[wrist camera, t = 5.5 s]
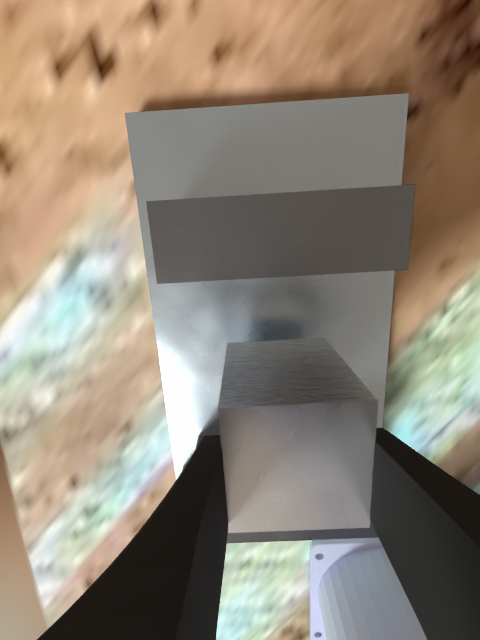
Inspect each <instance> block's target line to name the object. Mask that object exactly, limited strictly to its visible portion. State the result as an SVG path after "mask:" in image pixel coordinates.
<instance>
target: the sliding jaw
mask: <svg viewBox="0 0 480 640" xmlns="http://www.w3.org/2000/svg"><path fill="white" fill-rule="evenodd" d="M414 195H415V184H412V185H396V186H380V187H364V188H348V189H332V190H317V191H301V192H285V193H269V194H253V195H237V196H221V197H205V198H189V199H174V200H158V201H146V205H147V212H148V220H149V227H150V235H151V243H152V250H153V258H154V265H155V273H156V280H157V284H166V283H184V282H202V281H219V280H237V279H255V278H272V277H290V276H307V275H325V274H343V273H360V272H378V271H396V270H408V261H409V250H410V239H411V228H412V217H413V206H414Z"/></svg>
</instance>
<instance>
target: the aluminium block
mask: <svg viewBox="0 0 480 640" xmlns="http://www.w3.org/2000/svg"><path fill="white" fill-rule="evenodd" d="M377 413H378V400H377V399H376V397H375V396H374V395H373V394H372V393H371V392H370V390H369V389H368V388H367V387H366V386H365V385H364V383H363V382H362V381H361V380H360V379H359V378H358V376H357V375H356V374H355V373H354V372H353V371H352V369H351V368H350V367H349V366H348V365H347V363H346V362H345V361H344V360H343V359H342V358H341V356H340V355H339V354H338V353H337V352H336V351H335V349H334V348H333V347H332V346H331V345H330V344H329V342H328V341H327V340H326V339H325V338H310V339H291V340H272V341H253V342H234V343H227V349H226V356H225V363H224V369H223V376H222V383H221V390H220V397H219V404H218V416H219V428H220V440H221V448H222V455H223V466H224V478H225V490H226V502H227V513H228V533H242V532H269V531H295V530H321V529H347V528H370V507H371V492H372V477H373V462H374V447H375V441H376V428H377Z"/></svg>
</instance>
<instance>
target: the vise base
mask: <svg viewBox="0 0 480 640" xmlns="http://www.w3.org/2000/svg"><path fill="white" fill-rule="evenodd" d="M408 99H409V93H404V94H390V95H376V96H361V97H347V98H333V99H318V100H304V101H290V102H275V103H261V104H247V105H232V106H218V107H204V108H189V109H175V110H161V111H146V112H132V113H125V118H126V125H127V132H128V139H129V146H130V153H131V161H132V168H133V175H134V182H135V189H136V197H137V204H138V211H139V218H140V225H141V232H142V240H143V247H144V254H145V261H146V268H147V275H148V283H149V290H150V297H151V304H152V311H153V319H154V326H155V333H156V340H157V347H158V354H159V362H160V369H161V376H162V383H163V390H164V398H165V405H166V412H167V419H168V426H169V433H170V441H171V448H172V455H173V462H174V469H175V477H176V480H177V478H178V477H179V475H180V474H181V472H182V471H183V469H184V468H185V466H186V464H187V463H188V461H189V460H190V458H191V456H192V455H193V453H194V451H195V449H196V447H197V446H198V444H199V442H200V440H201V439H202V438H203V437H204V436H210V435H220V428H219V416H218V404H219V397H220V390H221V383H222V376H223V369H224V363H225V356H226V349H227V343H234V342H253V341H272V340H291V339H310V338H325V339H326V340H327V341H328V342H329V344H330V345H331V346H332V347H333V348H334V349H335V351H336V352H337V353H338V354H339V355H340V356H341V358H342V359H343V360H344V361H345V362H346V363H347V365H348V366H349V367H350V368H351V369H352V371H353V372H354V373H355V374H356V375H357V376H358V378H359V379H360V380H361V381H362V382H363V383H364V385H365V386H366V387H367V388H368V389H369V390H370V392H371V393H372V394H373V395H374V396H375V397H376V399H377V400H378V413H377V428H382V426H383V414H384V401H385V389H386V376H387V363H388V351H389V338H390V326H391V313H392V300H393V288H394V275H395V271H378V272H360V273H343V274H325V275H307V276H290V277H272V278H255V279H237V280H219V281H202V282H184V283H166V284H157V280H156V273H155V265H154V258H153V250H152V243H151V235H150V227H149V220H148V212H147V205H146V201H158V200H174V199H189V198H205V197H221V196H237V195H253V194H269V193H285V192H301V191H317V190H332V189H348V188H364V187H380V186H396V185H402V175H403V162H404V149H405V137H406V124H407V112H408ZM353 538H378V536H377V533H376V531H375V529H374V527H373V525H372V523H371V520H370V528H347V529H321V530H295V531H269V532H242V533H228V534H227V543H244V542H271V541H299V540H326V539H353Z"/></svg>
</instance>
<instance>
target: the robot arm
mask: <svg viewBox="0 0 480 640" xmlns="http://www.w3.org/2000/svg"><path fill="white" fill-rule="evenodd" d="M370 520H371V523H372V525H373V527H374V529H375V531H376V533H377V536H378V538H353V539H326V540H313V541H312V542H311V544H310V640H480V495H479V494H477V493H476V492H474V491H473V490H471V489H470V488H468V487H467V486H465V485H464V484H462V483H461V482H459V481H458V480H456V479H455V478H453V477H452V476H450V475H449V474H447V473H446V472H445V471H443V470H442V469H440V468H439V467H437V466H436V465H435V464H433V463H432V462H430V461H429V460H427V459H426V458H425V457H423V456H422V455H420V454H419V453H418V452H416V451H415V450H413V449H412V448H411V447H409V446H408V445H406V444H405V443H404V442H402V441H401V440H399V439H398V438H397V437H395V436H394V435H392V434H391V433H389V432H388V431H386V430H385V429H383V428H376V441H375V447H374V462H373V477H372V492H371V507H370ZM227 534H228V513H227V502H226V490H225V478H224V466H223V455H222V448H221V440H220V435H210V436H204V437H203V438H202V439H201V440H200V442H199V444H198V446H197V447H196V449H195V451H194V453H193V455H192V456H191V458H190V460H189V461H188V463H187V464H186V466H185V468H184V469H183V471H182V472H181V474H180V475H179V477H178V478H177V480H176V481H175V483H174V484H173V486H172V487H171V489H170V490H169V492H168V493H167V495H166V496H165V497H164V499H163V500H162V501H161V503H160V504H159V506H158V507H157V508H156V510H155V511H154V512H153V514H152V515H151V516H150V518H149V519H148V520H147V522H146V523H145V524H144V525H143V527H142V528H141V529H140V530H139V532H138V533H137V534H136V535H135V537H134V538H133V539H132V540H131V541H130V543H129V544H128V545H127V546H126V547H125V549H124V550H123V551H122V552H121V553H120V554H119V555H118V557H117V558H116V559H115V560H114V561H113V562H112V564H111V565H110V566H109V567H108V568H107V569H106V570H105V571H104V572H103V573H102V574H101V575H100V577H99V578H98V579H97V580H96V581H95V582H94V583H93V584H92V585H91V586H90V587H89V588H88V589H87V590H86V592H85V593H84V594H83V595H82V596H81V597H80V598H79V599H78V600H77V601H76V602H75V603H74V604H73V605H72V606H71V607H70V608H69V609H68V610H67V611H66V612H65V613H64V614H63V615H62V616H61V617H60V618H59V619H58V620H57V621H56V622H55V623H54V624H53V625H52V626H51V627H50V628H49V629H48V630H47V631H45V632H44V633H43V634H42V635H41V636H40V637H39V638H38V639H37V640H216V630H217V621H218V612H219V604H220V595H221V586H222V578H223V569H224V561H225V552H226V543H227Z"/></svg>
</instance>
